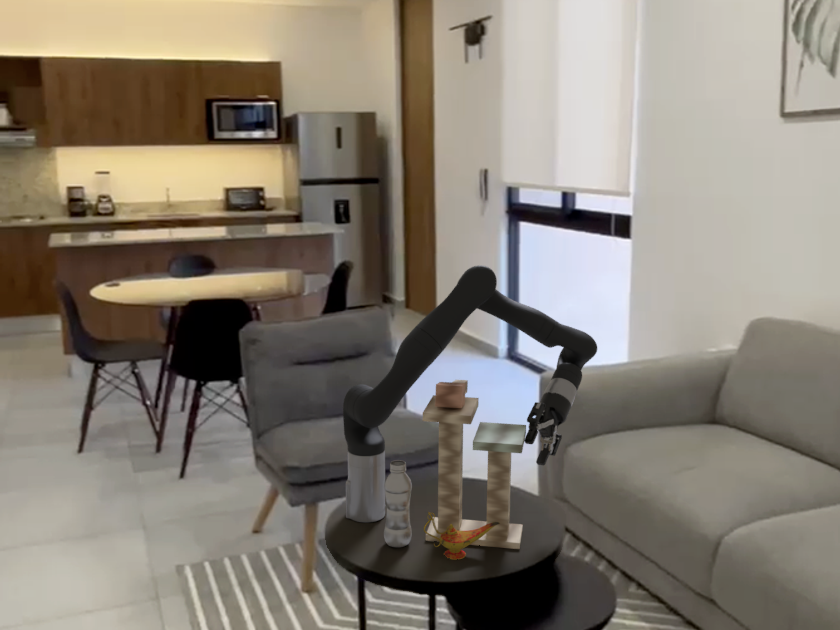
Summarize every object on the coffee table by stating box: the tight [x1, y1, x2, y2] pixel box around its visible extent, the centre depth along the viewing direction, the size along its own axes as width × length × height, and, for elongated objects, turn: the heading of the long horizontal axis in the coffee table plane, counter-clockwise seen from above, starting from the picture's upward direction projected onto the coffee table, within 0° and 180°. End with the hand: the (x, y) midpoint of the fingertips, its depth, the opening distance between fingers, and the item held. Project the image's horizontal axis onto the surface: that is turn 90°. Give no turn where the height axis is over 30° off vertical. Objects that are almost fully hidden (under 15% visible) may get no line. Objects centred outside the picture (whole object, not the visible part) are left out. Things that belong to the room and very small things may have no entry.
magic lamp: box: [423, 511, 500, 561], centre depth 193 cm, size 7×18×11 cm, turn 103°
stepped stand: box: [422, 394, 527, 550], centre depth 200 cm, size 22×14×32 cm, turn 79°
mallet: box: [435, 379, 469, 408], centre depth 204 cm, size 6×22×5 cm, turn 169°
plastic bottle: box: [383, 459, 413, 548], centre depth 196 cm, size 6×7×20 cm
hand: (534, 453), depth 202 cm, fingers open, 8 cm apart
